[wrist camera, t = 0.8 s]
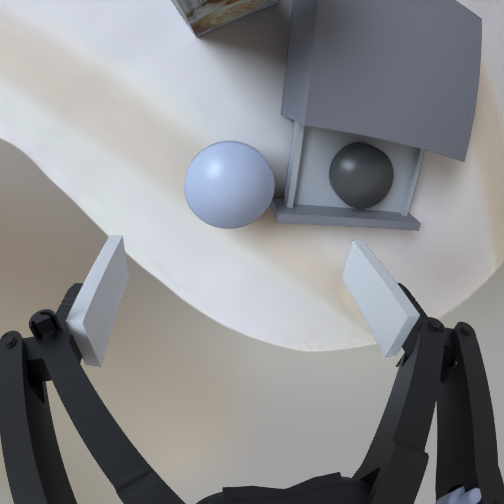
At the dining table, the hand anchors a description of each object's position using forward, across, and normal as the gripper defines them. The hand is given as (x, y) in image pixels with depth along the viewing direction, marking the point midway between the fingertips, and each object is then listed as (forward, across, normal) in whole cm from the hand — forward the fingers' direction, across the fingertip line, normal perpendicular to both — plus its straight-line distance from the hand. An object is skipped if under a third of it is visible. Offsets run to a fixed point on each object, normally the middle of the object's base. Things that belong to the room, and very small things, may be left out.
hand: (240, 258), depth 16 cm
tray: (+16, +14, +5) cm, 22 cm away
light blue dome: (+13, 0, 0) cm, 13 cm away
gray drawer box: (+17, +14, +15) cm, 26 cm away
